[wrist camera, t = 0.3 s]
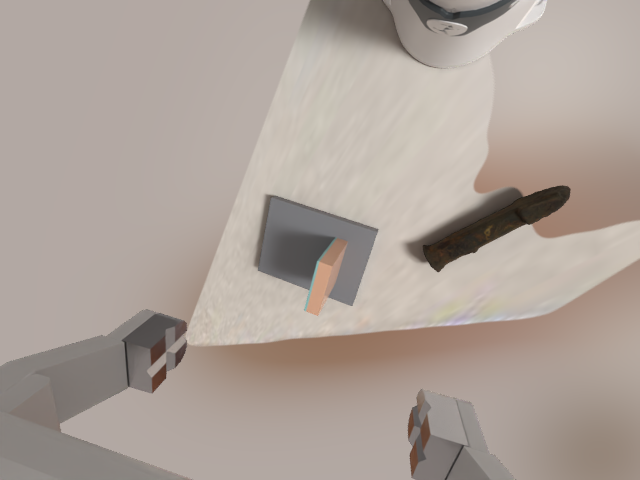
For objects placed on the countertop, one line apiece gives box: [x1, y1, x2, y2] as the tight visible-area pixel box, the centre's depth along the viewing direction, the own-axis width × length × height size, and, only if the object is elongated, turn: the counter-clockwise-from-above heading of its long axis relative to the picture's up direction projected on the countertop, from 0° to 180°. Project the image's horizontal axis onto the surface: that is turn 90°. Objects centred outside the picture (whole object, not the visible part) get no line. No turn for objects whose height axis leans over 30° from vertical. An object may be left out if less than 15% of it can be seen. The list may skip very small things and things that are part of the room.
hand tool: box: [423, 186, 570, 272], centre depth 41 cm, size 19×4×5 cm, turn 124°
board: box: [258, 196, 378, 306], centre depth 51 cm, size 14×18×2 cm
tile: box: [304, 237, 348, 316], centre depth 45 cm, size 8×2×10 cm, turn 166°
